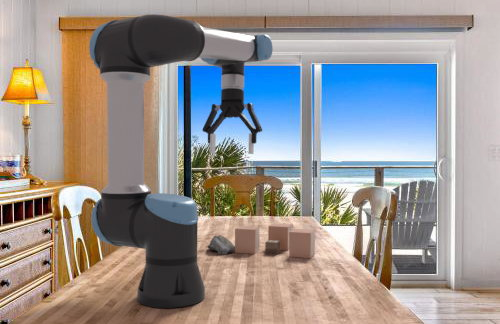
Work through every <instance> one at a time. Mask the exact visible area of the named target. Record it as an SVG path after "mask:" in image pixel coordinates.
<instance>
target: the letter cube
mask: <svg viewBox="0 0 500 324" xmlns="http://www.w3.org/2000/svg"><path fill="white" fill-rule="evenodd" d="M264 245H265V251H264V252H265V253H264V254H265V255H272V256H273V255H276V256H277V255H279V254H281V250H280V241H275V240H268V239H267V240H266V241H265V244H264Z"/></svg>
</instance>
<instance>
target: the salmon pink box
mask: <svg viewBox="0 0 500 324" xmlns="http://www.w3.org/2000/svg"><path fill="white" fill-rule="evenodd" d="M315 238H316V230H315V229H307V228H306V229H305V228H293V230H292V231H290V232H289V250H288V251H289V252H288V253H289V254H288V255H289V258H290V257H291V258H303V259H304V258H305V259H312V258H313V256H315V255H316V248H315V247H316V239H315Z"/></svg>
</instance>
